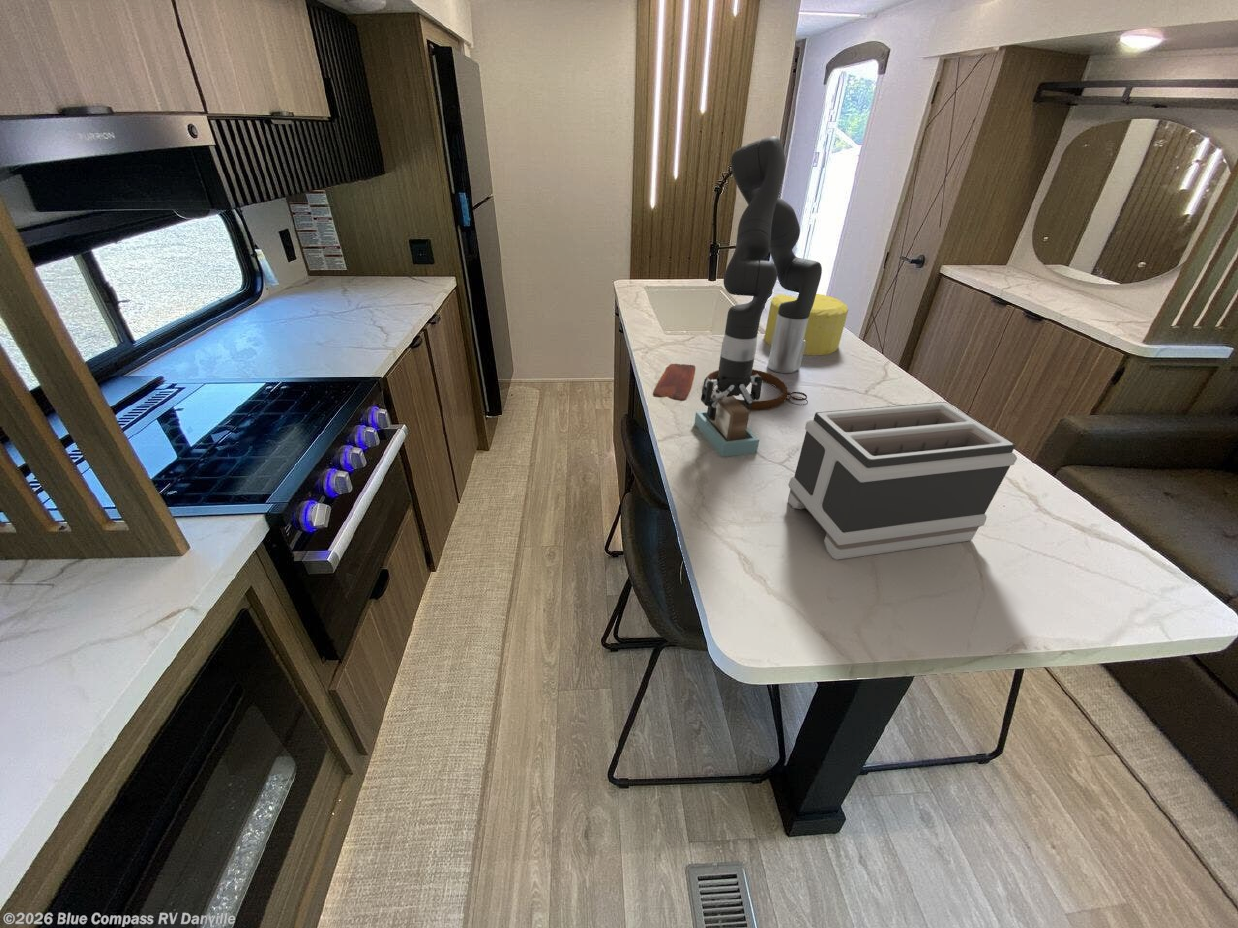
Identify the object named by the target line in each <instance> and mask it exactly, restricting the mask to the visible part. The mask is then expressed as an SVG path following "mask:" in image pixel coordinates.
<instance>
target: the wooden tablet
mask: <svg viewBox="0 0 1238 928" xmlns="http://www.w3.org/2000/svg"><path fill="white" fill-rule="evenodd" d="M695 374H696V365H695V364H694V365H693V364H682V363H681V364H680V363H669V365H668V366H666V368H665V370H664V372H663V373H662V375H661V376H660V378H659V380H658V382H657V383H656V385H655V387H654V389H653V396H654V397H657V398H666V397H667V398H668V399H671V400H676V401H685V400H686V399H687V398H688V397H689V395H690V393H691V390H692V387H693V384H694V382H693V381H694V378H695Z"/></svg>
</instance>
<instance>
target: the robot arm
mask: <svg viewBox="0 0 1238 928" xmlns="http://www.w3.org/2000/svg"><path fill="white" fill-rule="evenodd" d="M730 159H731V160H730V164H731V165H730V166H731V167H730V168H731V172H732V176H733V179H734V181H735V183H736V186H737V188H738V190H739V192H740V193H741V195H742V197H743V199H744V201H745V202H746V203H747V206H746V207H745V209H744V211H743V213H742V215H741V217H740V219H739V222H738V227H737V235H736V236H737V237H736V244H735V249H734V252H733V255H732V256H731V259H730V261H729V263H728V264H727V267H726V269H725V271H724V276H723V287H724V289H725V290H726V292H727V293H728V294H729V295H732V296H733V295H734V296H743V297H744V296H745V297H754V298H753V299H752V300H751V301H749V302H747V303H742V304H736V305H732V306H731V307H730V308H729V309H728V312H727V316H726V323H725V329H724V336H723V338H722V339H723V340H722V343H721V350H720V358H719V362H718V363H719V364H718V369H717V370H718V372H719V374H718V377H717V379H716V380H710V379H709V378H706V377H705V378H706V379H705V378H704V381H703V385H702V390H701V391H702V392H701V397H700V402H702V403H703V404H704V405H705V406H706V407H707V416H708V418H709V419H710V420H711V421H715V416H716V409H717V407H716V406H717V404H718V403H719V402H720V401H722V400H723V399H724V398H725V397H726V396H727V397H731V396H734V397H740V396H741V397H742V398H743V399H741V400H742V405H743V406H744V407H746V408H747V409H748V410H749V411H750V412H751V410H750V407H751V403H752V402H753V401H760V399H761V391H762V385H763V381H762V377H760V376H759V375H758V374H757V373H755V374H753V376H750V375H751V374H752V369H754V367H753V366H754V364H755V357H756V352H757V343H758V341H757V340H758V332H759V327H760V322H761V318H762V315H763V312H764V309H765V307H766V304H767V302H768V300H769V298H770V295H771V294H772V291H773V290H774V288H775V286H776V282H777V279H778V283H779V285H780V286H781V287H782V288H783V289H784V290H787V291H790V292H794V293H798V296H797V297H796V298H797V300H795V301H788V302H784V303H782V304H780V306H779V310H778V315H777V320H776V326H775V331H774V336H773V341H772V346H771V345H770V346H771V347H770V352H769V356H768V357H769V358H768V362H767V368H768V369H769V370H771V371H773V372H776V373H781V374H791V373H792V374H793V373H796V371H800V369H801V365H802V360H803V356H804V354H803V353H804V349H805V344H806V341H805V340H804V337H805V332H806V328H807V323H808V319H809V315H810V312H811V309H812V307H813V304H814V300H815V296H816V294H818V289H819V285H820V283H821V279H822V272H823V267H822V264H821V262H819V261H816V260H812V259H806V258H801V257H797V256H796V255H795V253H794V251H793V250H794V247H795V246H796V245H797V243H798V240H799V239H800V234H801V227H800V223H799V221H798V220H799V219H798V217H797V215H796V212H795V209H794V208H793V206H792V205H791V204H790V203H788V201H787V202H786V200H784V199H782V198H780V197H779V196H780V191H781V187H782V183H783V180H784V176H785V167H786V156H785V151H784V146H783V144H782V141H781V140H780V139H779V137H778V136H775V135H773V136H768V137H764V138H761V139H758V140H755V141H753V142H751V143H747V144H746V145H742V146H741V147H739V148H737V149H736V150H734V152H733V153H732V155H731V158H730ZM769 253H770V254H769ZM768 255H770V256H771V257H770V258H771V260H772V261H770V260H764V259H765V258H766V257H768ZM750 384H751V387H750V393H749V390H748V389H747V387H748V386H749V385H750ZM715 386H716V387H715ZM712 389H713V390H714V391H713V394H712ZM720 391H721V394H720V395H719V392H720ZM711 394H712V396H711Z"/></svg>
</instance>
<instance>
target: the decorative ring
mask: <svg viewBox="0 0 1238 928" xmlns="http://www.w3.org/2000/svg"><path fill="white" fill-rule="evenodd" d="M718 370H719V369H717V370H715V371H713V372H711V373H709V374H708V375H707V376H706V377H705V378H704V380H705V379H706V378H709V379H710V380H716V379H717V377H718V374H719V372H718ZM755 373H757V374H758V375H759V376H760V377H762V382H765V383H768V384H770V385H772V384H773V385H772V386H774V385H775V386H776V387H775V386H774V387H775V388H776V389H778V391H779V392H780V393H781V395H780V396H778V397H775V398H772V399H771V398H770V399H767V400H754V401H753V402H752V403H751V407H750V411H764V410H771V409H774V408H778V407H779V406H780V405H782V404H784V403H785V401H788V403H791V404H792V405H794V406H795V405H796V406H801V404H799V403H794V402H792V401H791V399H792V400H795V401H806V403H804V404H803V403H802V406H806V405H808V403H809V401H808V400H807V398H808V395H807V394H806V393H804V392H801V391H792V392H791V391H789V389H788V387H787V385H786V383H785V382H784V381H782V380H781V379H780V378H779V377H778V376H775V375H773V374H771V373H768V372H765V371H762V370H758V369H754V368H752V374H751V375H750V376H753V374H755ZM714 390H715V389H712V391H714ZM794 394H795V395H796V394H798V395H802V396H803V397H800V396H797V397H796V396H792V395H794ZM788 396H789V397H788ZM736 399H737V400H738V401H739V402H740V403H741V404H742V400H743V399H738V398H736Z"/></svg>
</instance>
